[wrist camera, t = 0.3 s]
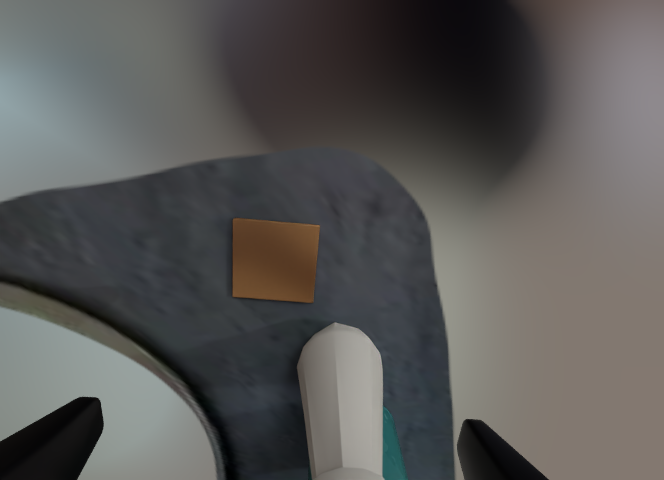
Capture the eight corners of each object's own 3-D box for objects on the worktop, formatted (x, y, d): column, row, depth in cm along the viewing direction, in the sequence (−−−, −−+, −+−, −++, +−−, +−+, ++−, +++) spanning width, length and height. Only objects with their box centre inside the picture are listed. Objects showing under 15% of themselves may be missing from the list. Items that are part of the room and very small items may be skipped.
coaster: (313, 300, 23) (313, 303, 23) (233, 294, 23) (232, 297, 22) (319, 224, 21) (319, 226, 21) (234, 217, 21) (232, 219, 21)
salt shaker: (380, 373, 25) (433, 604, 13) (307, 382, 25) (290, 620, 13) (372, 307, 23) (425, 502, 11) (293, 317, 23) (258, 522, 11)
